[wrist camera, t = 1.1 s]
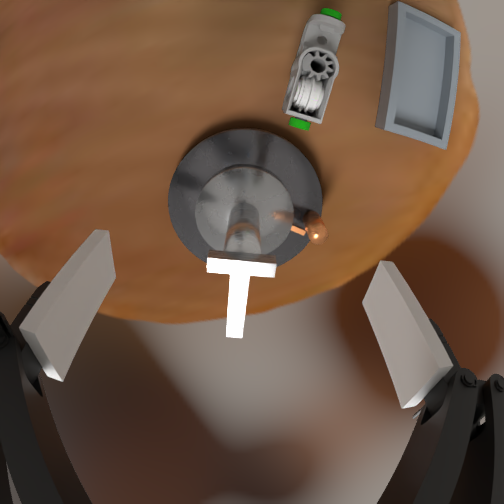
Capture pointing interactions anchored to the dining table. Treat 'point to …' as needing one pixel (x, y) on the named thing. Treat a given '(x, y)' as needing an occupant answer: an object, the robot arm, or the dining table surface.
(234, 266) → the crank
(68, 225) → the dining table surface
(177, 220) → the crank base
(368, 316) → the robot arm
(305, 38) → the mechanical component
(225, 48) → the dining table surface
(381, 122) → the tray
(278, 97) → the dining table surface
